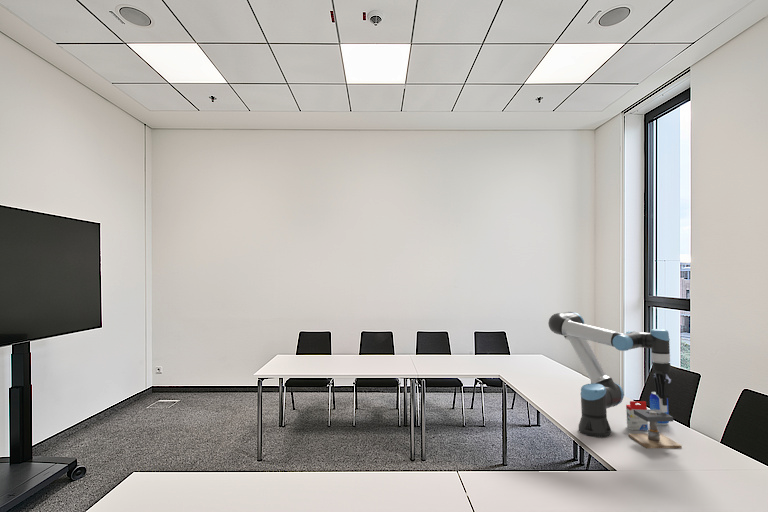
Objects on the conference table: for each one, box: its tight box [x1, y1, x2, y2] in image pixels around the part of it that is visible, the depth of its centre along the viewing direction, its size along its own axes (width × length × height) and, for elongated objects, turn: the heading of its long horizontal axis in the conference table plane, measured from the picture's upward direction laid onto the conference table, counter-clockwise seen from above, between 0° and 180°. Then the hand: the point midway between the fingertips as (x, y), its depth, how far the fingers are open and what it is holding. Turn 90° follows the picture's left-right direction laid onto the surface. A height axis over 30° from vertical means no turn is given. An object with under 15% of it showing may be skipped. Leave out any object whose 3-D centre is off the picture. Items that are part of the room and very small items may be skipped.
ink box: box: [625, 400, 649, 431], centre depth 236 cm, size 8×5×15 cm, turn 84°
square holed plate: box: [634, 409, 674, 423], centre depth 217 cm, size 12×12×2 cm
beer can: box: [649, 391, 670, 426], centre depth 244 cm, size 8×8×16 cm
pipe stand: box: [628, 411, 683, 449], centre depth 217 cm, size 16×16×14 cm
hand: (663, 411), depth 217 cm, fingers closed
